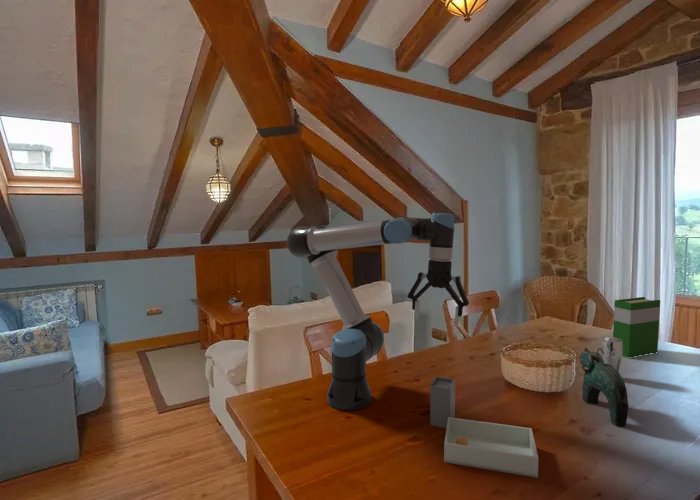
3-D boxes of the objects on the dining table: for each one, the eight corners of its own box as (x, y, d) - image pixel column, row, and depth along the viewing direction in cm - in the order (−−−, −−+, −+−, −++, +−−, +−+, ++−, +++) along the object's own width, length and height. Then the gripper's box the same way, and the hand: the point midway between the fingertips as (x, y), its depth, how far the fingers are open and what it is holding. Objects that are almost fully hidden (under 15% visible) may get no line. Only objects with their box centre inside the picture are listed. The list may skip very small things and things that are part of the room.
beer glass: (625, 382, 150) (627, 342, 148) (604, 380, 151) (606, 341, 150) (616, 374, 156) (618, 337, 155) (597, 373, 158) (598, 336, 156)
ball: (467, 435, 108) (465, 436, 110) (456, 437, 108) (454, 437, 110) (470, 448, 106) (467, 448, 109) (459, 449, 106) (456, 450, 109)
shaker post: (435, 415, 127) (435, 376, 126) (454, 420, 124) (455, 379, 123) (430, 424, 122) (430, 383, 121) (450, 429, 119) (450, 387, 118)
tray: (444, 461, 104) (444, 443, 103) (448, 433, 117) (448, 416, 116) (537, 477, 97) (538, 458, 96) (531, 445, 110) (531, 428, 110)
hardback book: (640, 348, 186) (643, 296, 184) (657, 353, 179) (660, 300, 177) (612, 353, 180) (614, 300, 178) (628, 358, 173) (631, 303, 171)
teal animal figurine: (576, 397, 138) (578, 340, 137) (595, 397, 138) (598, 340, 136) (612, 428, 119) (615, 362, 117) (634, 428, 118) (638, 361, 117)
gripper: (480, 262, 132) (476, 326, 133) (407, 255, 143) (404, 314, 144) (477, 264, 125) (472, 331, 127) (400, 257, 136) (396, 319, 138)
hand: (435, 322), depth 136 cm, fingers open, 13 cm apart
